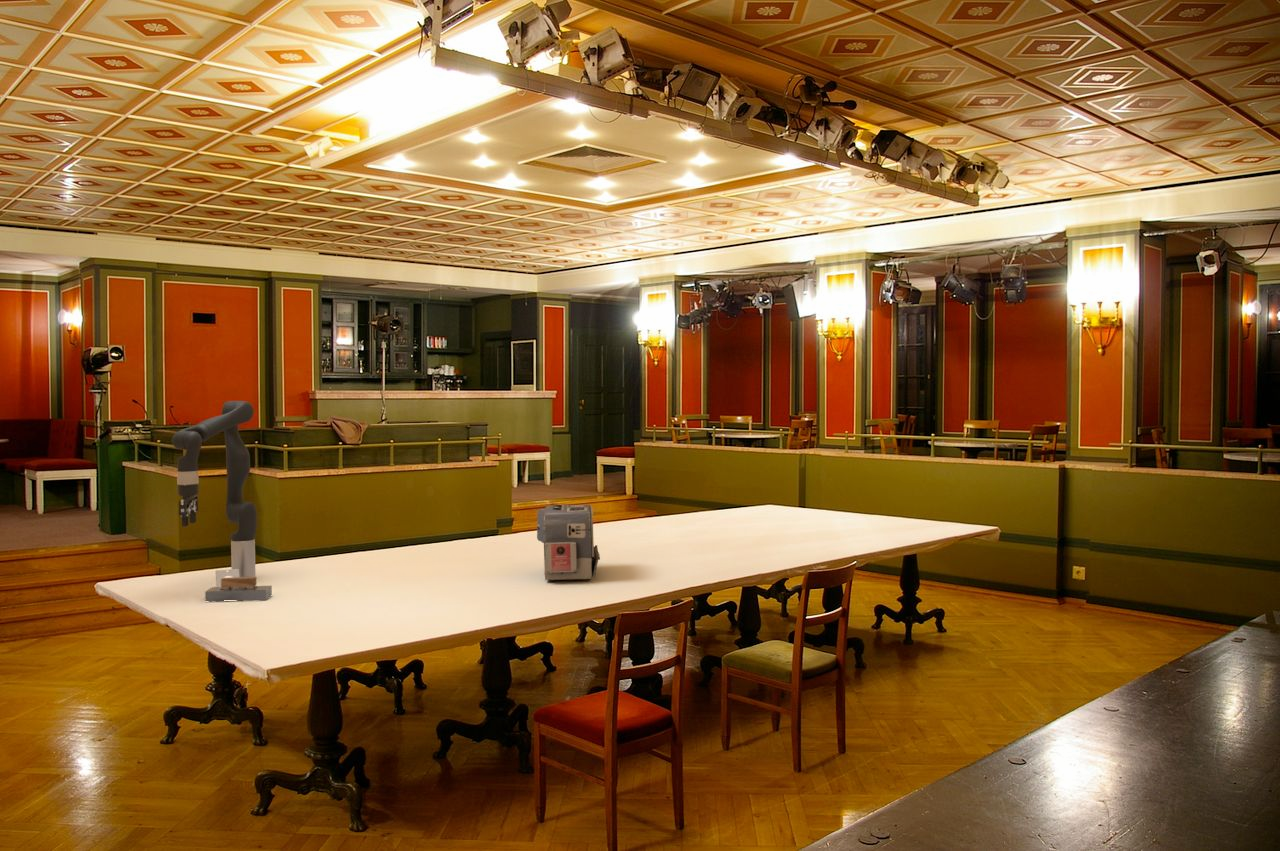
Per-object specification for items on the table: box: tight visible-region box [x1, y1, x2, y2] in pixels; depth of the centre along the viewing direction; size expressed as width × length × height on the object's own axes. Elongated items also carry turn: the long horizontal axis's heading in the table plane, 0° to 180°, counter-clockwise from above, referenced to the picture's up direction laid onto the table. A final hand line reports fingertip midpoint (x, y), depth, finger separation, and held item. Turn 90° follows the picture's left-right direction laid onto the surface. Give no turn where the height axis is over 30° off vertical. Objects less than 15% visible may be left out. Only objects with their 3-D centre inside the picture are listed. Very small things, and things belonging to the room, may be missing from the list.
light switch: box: [215, 568, 239, 587], centre depth 376 cm, size 8×6×14 cm
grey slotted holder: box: [204, 585, 273, 601], centre depth 362 cm, size 8×22×4 cm, turn 96°
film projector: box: [536, 504, 601, 583], centre depth 403 cm, size 39×29×30 cm
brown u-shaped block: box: [221, 576, 257, 590], centre depth 362 cm, size 3×12×8 cm, turn 96°
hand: (189, 524), depth 366 cm, fingers open, 8 cm apart
